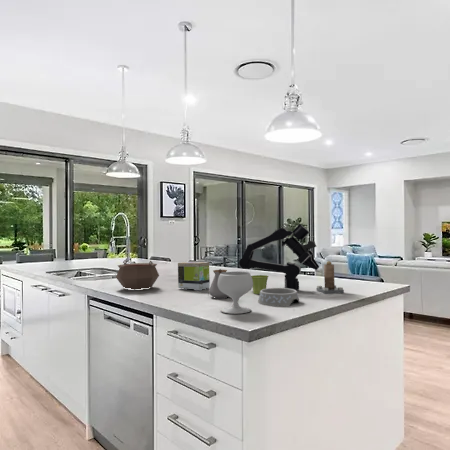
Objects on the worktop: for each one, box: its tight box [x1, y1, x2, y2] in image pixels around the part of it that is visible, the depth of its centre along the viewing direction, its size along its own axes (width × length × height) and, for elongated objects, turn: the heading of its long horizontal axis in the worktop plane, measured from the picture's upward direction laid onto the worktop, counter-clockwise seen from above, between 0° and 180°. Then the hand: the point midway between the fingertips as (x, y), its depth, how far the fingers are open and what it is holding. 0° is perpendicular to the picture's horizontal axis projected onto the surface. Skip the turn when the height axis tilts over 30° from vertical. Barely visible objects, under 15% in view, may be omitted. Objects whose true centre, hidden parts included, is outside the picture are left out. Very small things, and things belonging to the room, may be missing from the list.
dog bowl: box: [257, 287, 301, 307], centre depth 166 cm, size 17×18×5 cm
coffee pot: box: [208, 268, 230, 299], centre depth 177 cm, size 21×12×15 cm, turn 0°
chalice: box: [217, 271, 253, 315], centre depth 150 cm, size 14×14×15 cm
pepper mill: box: [323, 260, 335, 289], centre depth 190 cm, size 5×5×14 cm
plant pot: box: [251, 274, 269, 295], centre depth 190 cm, size 9×9×9 cm
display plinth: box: [316, 285, 345, 295], centre depth 190 cm, size 10×10×2 cm
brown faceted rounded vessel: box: [115, 259, 160, 289], centre depth 214 cm, size 24×24×16 cm
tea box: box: [177, 261, 211, 291], centre depth 210 cm, size 15×10×15 cm
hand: (317, 268), depth 192 cm, fingers open, 9 cm apart
